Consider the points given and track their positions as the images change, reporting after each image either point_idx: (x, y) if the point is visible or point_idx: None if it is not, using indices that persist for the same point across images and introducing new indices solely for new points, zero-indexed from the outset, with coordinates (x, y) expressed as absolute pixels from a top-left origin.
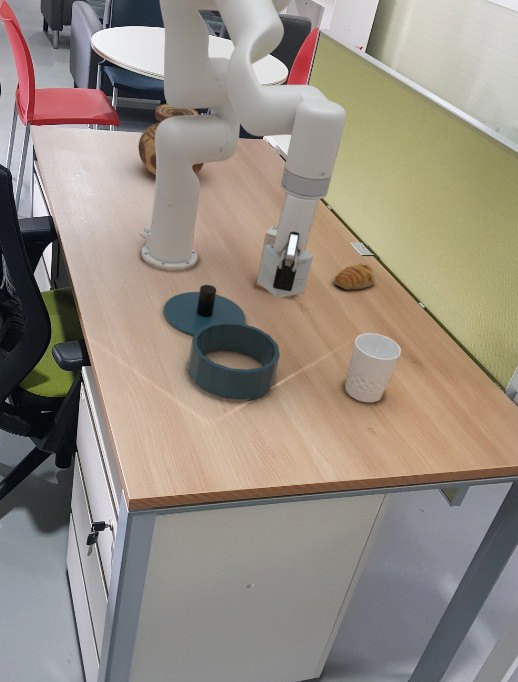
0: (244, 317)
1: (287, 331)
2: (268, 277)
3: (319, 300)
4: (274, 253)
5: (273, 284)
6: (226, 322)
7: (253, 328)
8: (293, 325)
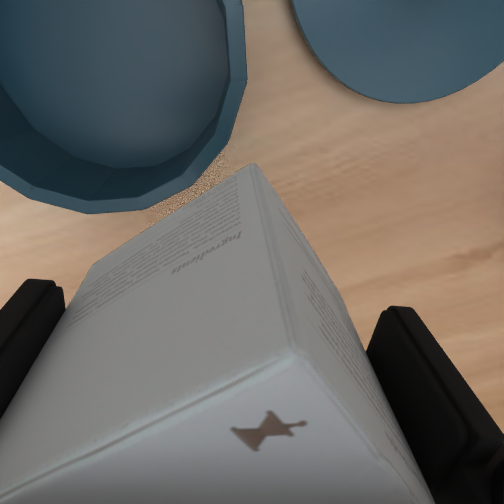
0: (407, 101)
1: (362, 220)
2: (155, 251)
3: (499, 294)
4: (102, 444)
5: (18, 290)
6: (236, 11)
7: (221, 129)
8: (390, 235)
